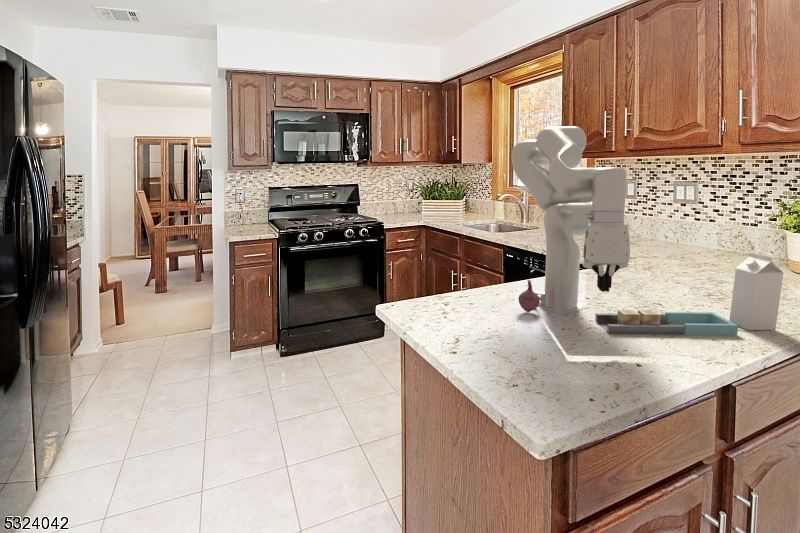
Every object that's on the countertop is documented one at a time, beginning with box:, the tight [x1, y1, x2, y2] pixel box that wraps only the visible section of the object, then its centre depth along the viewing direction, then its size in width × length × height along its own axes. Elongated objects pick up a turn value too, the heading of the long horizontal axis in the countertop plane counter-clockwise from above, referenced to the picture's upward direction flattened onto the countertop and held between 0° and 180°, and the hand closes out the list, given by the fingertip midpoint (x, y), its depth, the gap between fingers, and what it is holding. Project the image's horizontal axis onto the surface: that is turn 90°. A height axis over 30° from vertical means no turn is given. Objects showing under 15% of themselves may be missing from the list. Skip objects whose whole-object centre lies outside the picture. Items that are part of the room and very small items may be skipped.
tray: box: [664, 311, 739, 336], centre depth 122 cm, size 12×11×4 cm
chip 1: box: [617, 309, 640, 325], centre depth 123 cm, size 4×4×4 cm
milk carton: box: [728, 252, 784, 331], centre depth 124 cm, size 7×7×19 cm
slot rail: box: [594, 312, 686, 336], centre depth 123 cm, size 18×11×3 cm, turn 85°
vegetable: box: [518, 278, 541, 313], centre depth 140 cm, size 6×6×10 cm
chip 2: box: [637, 309, 662, 325], centre depth 123 cm, size 4×4×4 cm
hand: (603, 290), depth 122 cm, fingers closed
